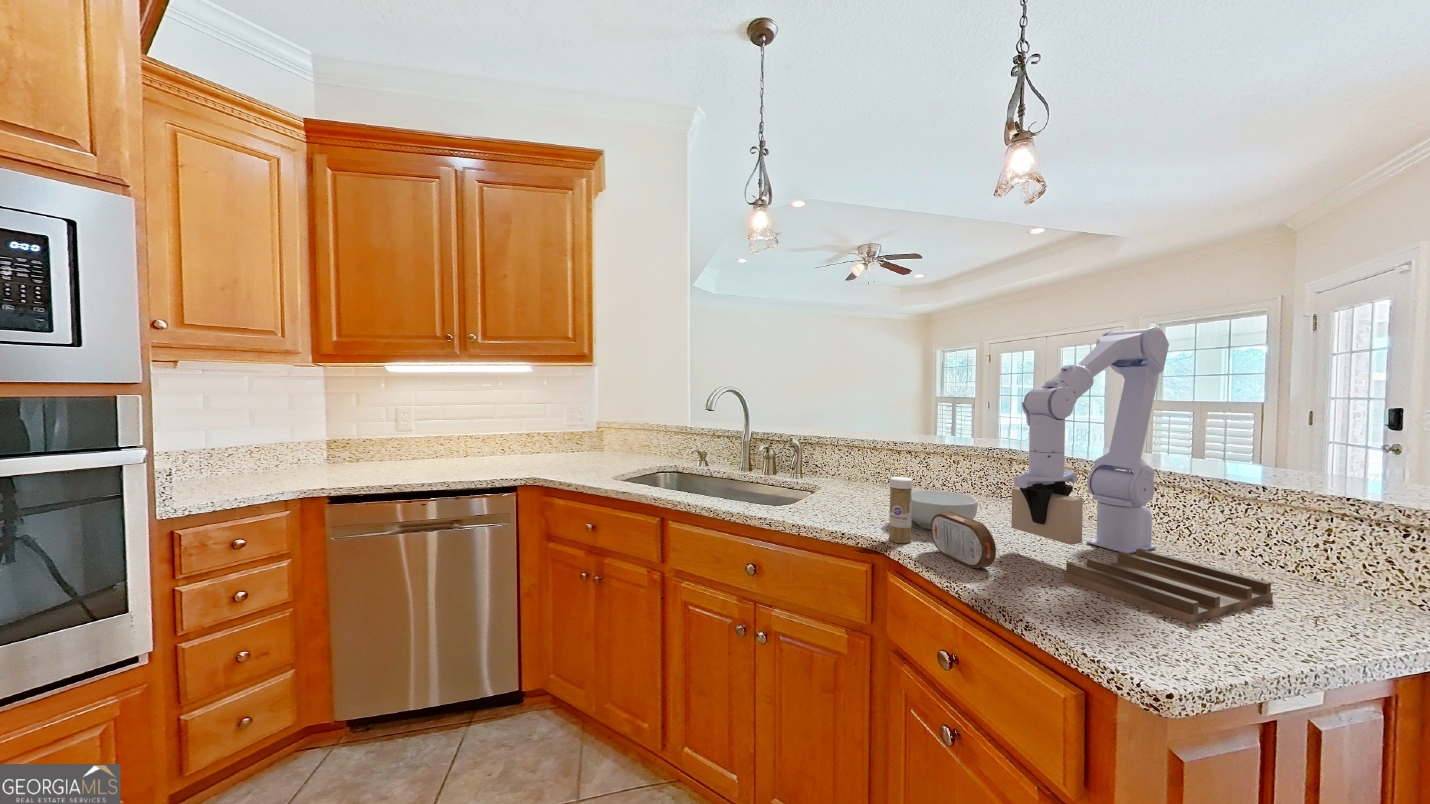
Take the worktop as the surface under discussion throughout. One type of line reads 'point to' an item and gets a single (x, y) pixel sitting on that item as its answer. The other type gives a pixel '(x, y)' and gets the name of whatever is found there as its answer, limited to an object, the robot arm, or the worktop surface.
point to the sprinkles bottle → (900, 509)
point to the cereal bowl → (940, 505)
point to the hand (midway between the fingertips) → (1045, 522)
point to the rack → (1170, 585)
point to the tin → (963, 539)
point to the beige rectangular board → (1050, 518)
